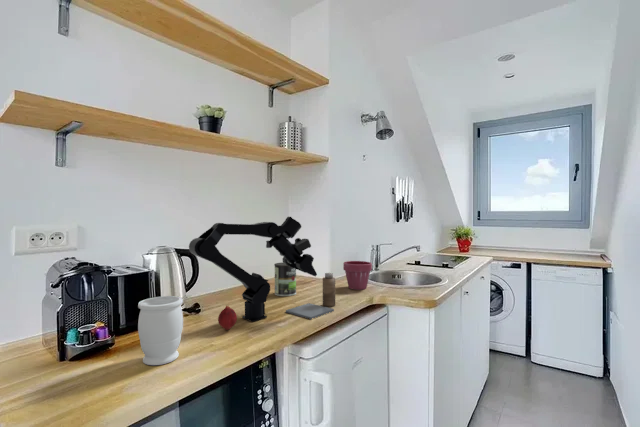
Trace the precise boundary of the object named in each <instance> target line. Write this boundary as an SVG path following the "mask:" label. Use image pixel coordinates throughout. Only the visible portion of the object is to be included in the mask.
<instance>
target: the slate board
mask: <svg viewBox="0 0 640 427" xmlns="http://www.w3.org/2000/svg"><path fill="white" fill-rule="evenodd" d="M332 311H333V312H334V311H335V309H334V308H333V307H324V306H323V305H318V304H315V303H309V302H308V303H305V304H301V305H298V306H296V307H292V308H288V309H285V313H287V314H289V315H290V314H291V315H295V316H298V317H302V318H304V317H305V318H306V319H308V318H309V320H313V319H312V318H314V319H316V318H319V317H322V316H324V315H323V314H325V315H327V314H330V313H333V312H332ZM329 312H330V313H329ZM326 313H327V314H326ZM321 315H322V316H321ZM318 316H319V317H318ZM315 317H316V318H315ZM305 318H304V319H305Z"/></svg>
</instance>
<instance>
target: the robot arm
mask: <svg viewBox="0 0 640 427" xmlns="http://www.w3.org/2000/svg"><path fill="white" fill-rule="evenodd" d="M301 228H302V224H301V223H300V222H299V221H298V220H296V219H295V218H293V217H292V216H287V217H286V218H285V220H284V221H283V223H282V224H281V225H278V224H277V223H276V222H274V221H262V222H256V223H253V224H252V223H251V224H249V223H247V224H242V223H241V224H239V223H224V222H216V223H214V224H213V225H212V226H211V227H210V228H208V229H207V230H206V231H204V232H203V233H201V235H199V236H198V237H195V238H193V239H192V240H191V241H190V242H189V245H188V250H189V252H190V253H191V255H194V256H196V257H199V258H201V259H204V260H206V261H207V262H211V263H212V264H213V265H215V266H216V267H218V268H220V269H221V270H223V271H224V272H225V273H227V274H228V275H230V276H232V277H233V278H234V279H236V280H238V282H240V283H241V284H242V285H243V286H244V288H245V290H244V291H243V292H242V294H241V296H242V299H243V300H244V315H243V316H241V318H242V320H243V319H244V320H245V321H246V320H247V321H249V322H252V323H253V322H257V321H259V320H263V319H265V318H267V317H268V315H265V314H266V313H265V312H266V305H265V304H266V302H267V299H268V296H269V294H270V292H271V284H270V283H269V279H266V278H264V277H263V276H262V275H261V274H258V273H255V272H252V273H251V274H250V273H249V272H248V271H246V270H244V269H243V268H242V267H240V265H238V264H236V263H235V262H234V261H232V260H231V259H229V258H228V257H226V256H225V255H223V254H222V252H220V250H219V249H218V247H217V244H219V242H220V241H221V239H222V238H223V236H224V235H242V236H243V235H247V236H248V235H253V236H257V237H262V238H269V240H266V241H265V242H266V245H265V248H267V249H272V247H273V248H274V249H275V250H276V251H277V252H278V253H279V255H280V256H281V257H282V263H283V262H284V263H285V264H286V265H288V266H290V267H292V268H295V269H296V271H297V270H298V271H300V272H302V273H305V274H308V275H310V276H313V277H316V276H317V275H318V274H317V271H316V269H315V268H314V266H313V262H314V257H313V256H312V254H309V253H304V251H305V250H307V249H310V248H311V247H312V245H311V242H310V240H309V238H302V239H301V238H300V237H297V238H295V239H294V243H292V242H291V241H290V240H289V239H293V238H294V237H295V236H296V235H297V234H298V232H299V231H300V230H301ZM287 262H288V263H287Z"/></svg>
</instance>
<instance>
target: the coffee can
mask: <svg viewBox="0 0 640 427" xmlns="http://www.w3.org/2000/svg"><path fill="white" fill-rule="evenodd" d="M287 263H288V262H287ZM273 266H274V296H277V297H292V296H296V295H297V269H295V268H292V267H290V266H288V265H286V264H285V263H284V262H283V261H282V262H276V263H274V265H273Z"/></svg>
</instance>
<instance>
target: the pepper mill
mask: <svg viewBox="0 0 640 427" xmlns="http://www.w3.org/2000/svg"><path fill="white" fill-rule="evenodd" d="M322 306H323V307H328V308H333V307H336V277H334V273H332V272H326V273H325V272H324V277H322Z"/></svg>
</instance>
